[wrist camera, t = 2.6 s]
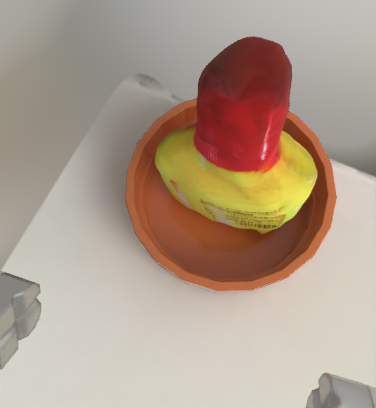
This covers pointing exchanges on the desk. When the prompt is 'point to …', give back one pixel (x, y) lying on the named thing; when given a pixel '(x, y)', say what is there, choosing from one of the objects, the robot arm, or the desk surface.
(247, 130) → the bottle
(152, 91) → the desk surface
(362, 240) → the desk surface
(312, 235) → the bowl
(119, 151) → the desk surface
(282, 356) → the desk surface
